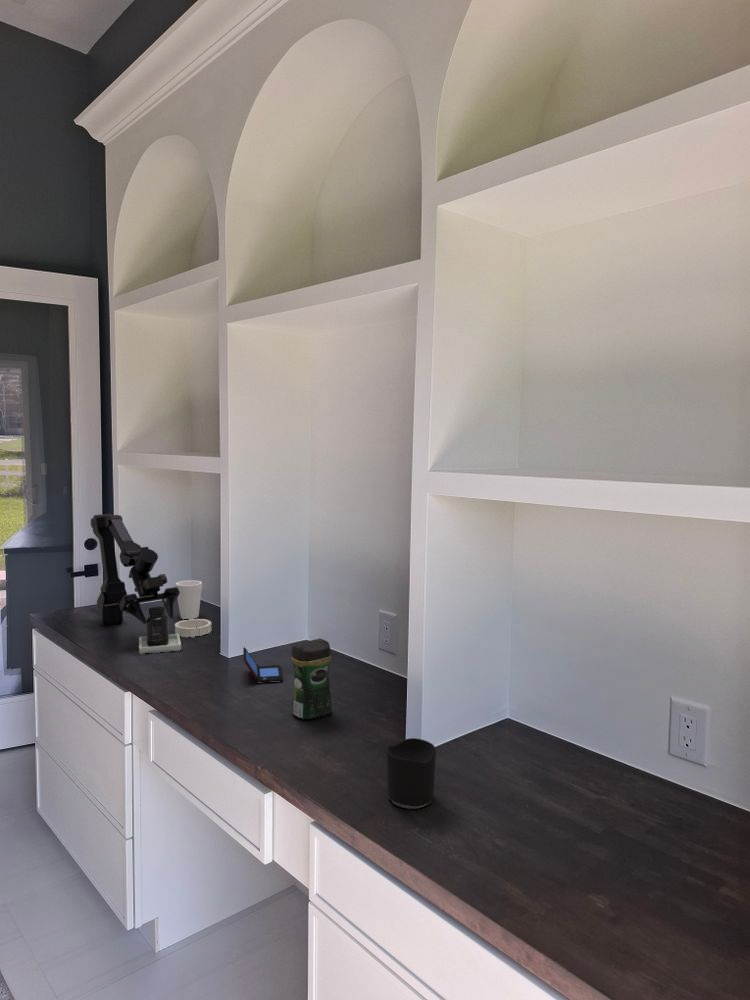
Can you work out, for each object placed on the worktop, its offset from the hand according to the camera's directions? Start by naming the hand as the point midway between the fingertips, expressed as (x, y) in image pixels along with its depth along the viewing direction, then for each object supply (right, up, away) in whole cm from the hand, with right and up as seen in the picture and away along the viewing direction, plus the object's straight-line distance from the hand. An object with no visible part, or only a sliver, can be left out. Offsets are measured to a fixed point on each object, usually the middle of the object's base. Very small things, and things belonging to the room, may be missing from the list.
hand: (158, 620), depth 227 cm
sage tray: (0, -9, +1) cm, 9 cm away
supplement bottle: (0, -8, 0) cm, 8 cm away
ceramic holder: (+7, -7, +17) cm, 20 cm away
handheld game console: (+37, -12, -25) cm, 46 cm away
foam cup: (0, -5, +36) cm, 36 cm away
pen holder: (+76, -19, -91) cm, 120 cm away
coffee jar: (+54, -15, -51) cm, 76 cm away
